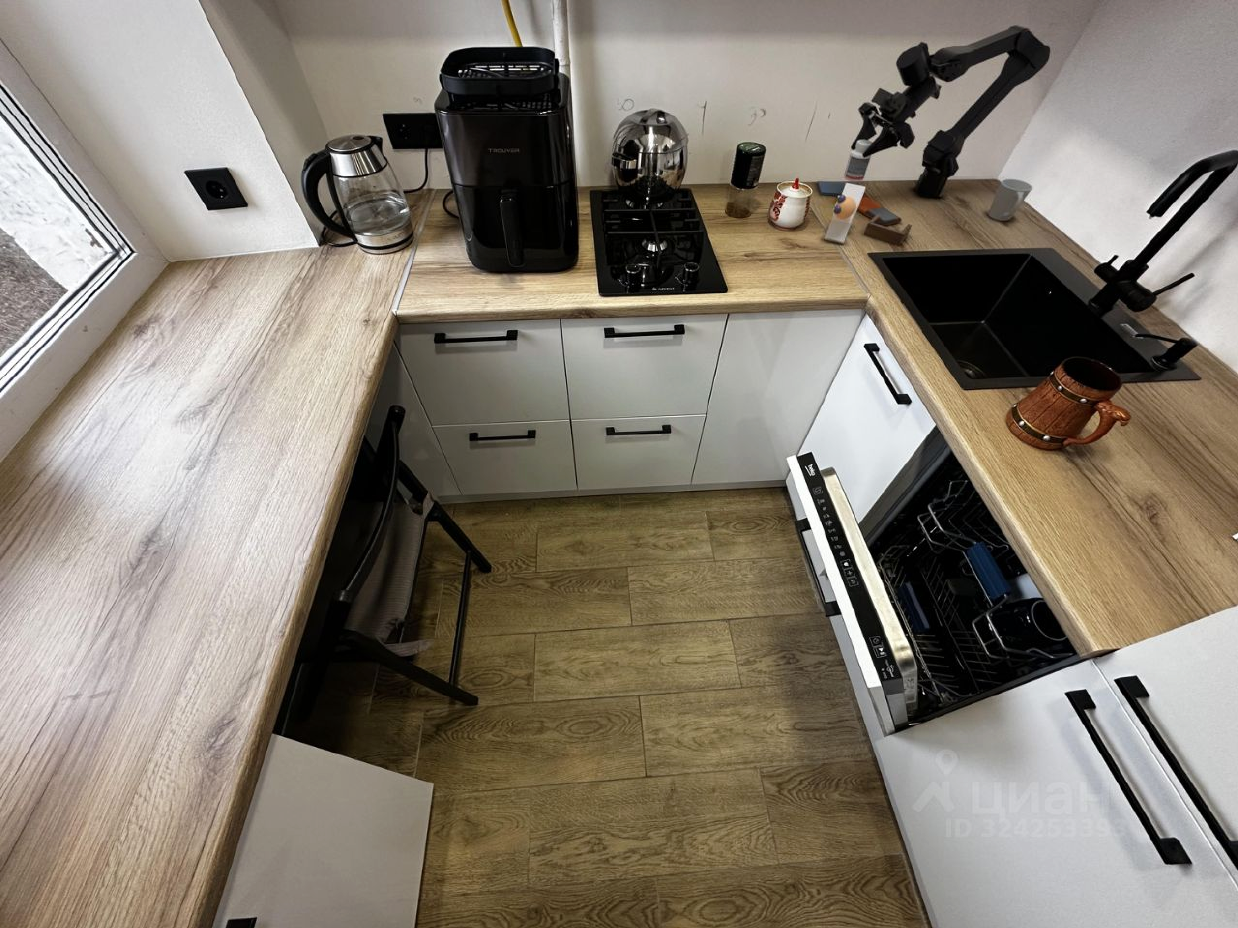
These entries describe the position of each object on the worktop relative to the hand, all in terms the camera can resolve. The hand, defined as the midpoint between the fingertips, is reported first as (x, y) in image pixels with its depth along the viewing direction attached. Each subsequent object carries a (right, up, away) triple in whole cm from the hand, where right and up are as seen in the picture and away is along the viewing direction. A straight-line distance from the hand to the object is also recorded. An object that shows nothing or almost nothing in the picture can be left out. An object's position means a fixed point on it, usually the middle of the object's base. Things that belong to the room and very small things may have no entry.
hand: (857, 152), depth 139 cm
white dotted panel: (-6, -22, -1) cm, 23 cm away
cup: (+43, -15, +7) cm, 46 cm away
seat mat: (+2, -2, +16) cm, 16 cm away
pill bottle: (+1, -4, +5) cm, 7 cm away
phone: (+8, -13, +7) cm, 17 cm away
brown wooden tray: (+7, -22, -1) cm, 23 cm away
